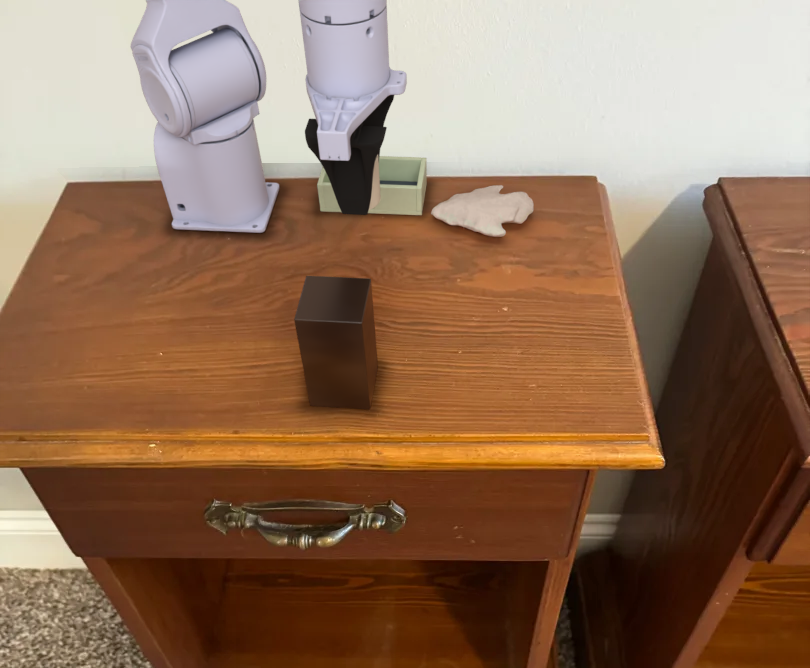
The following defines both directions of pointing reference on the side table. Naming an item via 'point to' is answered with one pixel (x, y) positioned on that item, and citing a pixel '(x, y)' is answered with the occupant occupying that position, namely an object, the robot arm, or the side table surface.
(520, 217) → the arrowhead
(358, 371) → the stand
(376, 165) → the beige cylinder
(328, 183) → the green divided box
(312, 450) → the side table surface
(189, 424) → the side table surface
